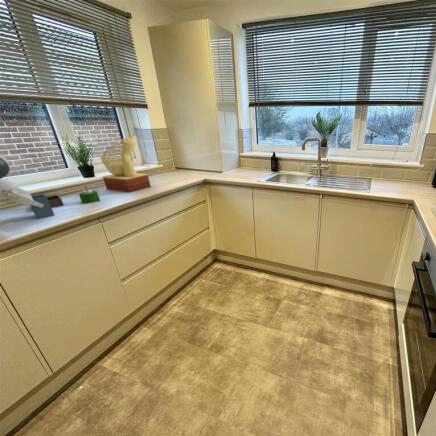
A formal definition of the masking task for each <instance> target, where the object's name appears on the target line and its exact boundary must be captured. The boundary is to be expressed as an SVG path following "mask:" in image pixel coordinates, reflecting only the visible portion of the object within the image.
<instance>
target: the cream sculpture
mask: <svg viewBox="0 0 436 436" xmlns="http://www.w3.org/2000/svg"><path fill="white" fill-rule="evenodd" d="M136 142H137V141H136V139H135V138H134V136H133V135H130V137H129V136H128V137H125V138H121V139H120V142H119V143H116V144H113V145H110V146H109V147H108V148H106V149H105V150H104V153H103V154H102V155H100V161H101V162H102V164H103V165H104V167H105V168H106V169H107V171H108V172H109V173H110V175H104V176H102V179H103V182H104V185H105V187H106V190H108V191H115V192H124V193H132V192H136V191H140V190H143V189H147V188H150V187H152V186H151V182H150V178H149V174H148V173H142V172H137V171H136V169H135V167H134V158H133V152H134V151H135V148H136Z"/></svg>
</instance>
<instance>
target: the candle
mask: <svg viewBox="0 0 436 436" xmlns="http://www.w3.org/2000/svg"><path fill="white" fill-rule="evenodd" d="M84 189H85V190H83V191H82V192H80V193H78V196H79V199H80V201H81V203H82V204H93V203H96V202H97V203H99V202H100V201H101V200H100V197H99V194H98V191H97V190H93V189H89V187H88V185H86V184H85V185H84Z"/></svg>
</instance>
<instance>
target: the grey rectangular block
mask: <svg viewBox="0 0 436 436" xmlns="http://www.w3.org/2000/svg"><path fill="white" fill-rule="evenodd" d="M31 196H32V198H33V200H34V201H36V202H39V203H42V204H44V206H43V207H42V208H41V207H38V206H34V205H31V204H30V205H31V206H30V207H32V208H31V210H32V212H33V215H34V216H35V218H36V220H39V219H43V218H48V217H53V216H55V213H54V211H53V208H51V206H50V204H49V201H48V199H47V197H48V196H47V195H46V193H43V194H38V195H31Z"/></svg>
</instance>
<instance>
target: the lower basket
mask: <svg viewBox="0 0 436 436" xmlns="http://www.w3.org/2000/svg"><path fill="white" fill-rule="evenodd" d="M46 197H47V199H48V201H49V204H50V206H51V208H52V209H54V208H59V207H63V206H64V202H63V200H62V198H61V197H60V195H58V194H55V195H48V196H46ZM29 207H31V205H30V206H29ZM31 209H32V207H31Z"/></svg>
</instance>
